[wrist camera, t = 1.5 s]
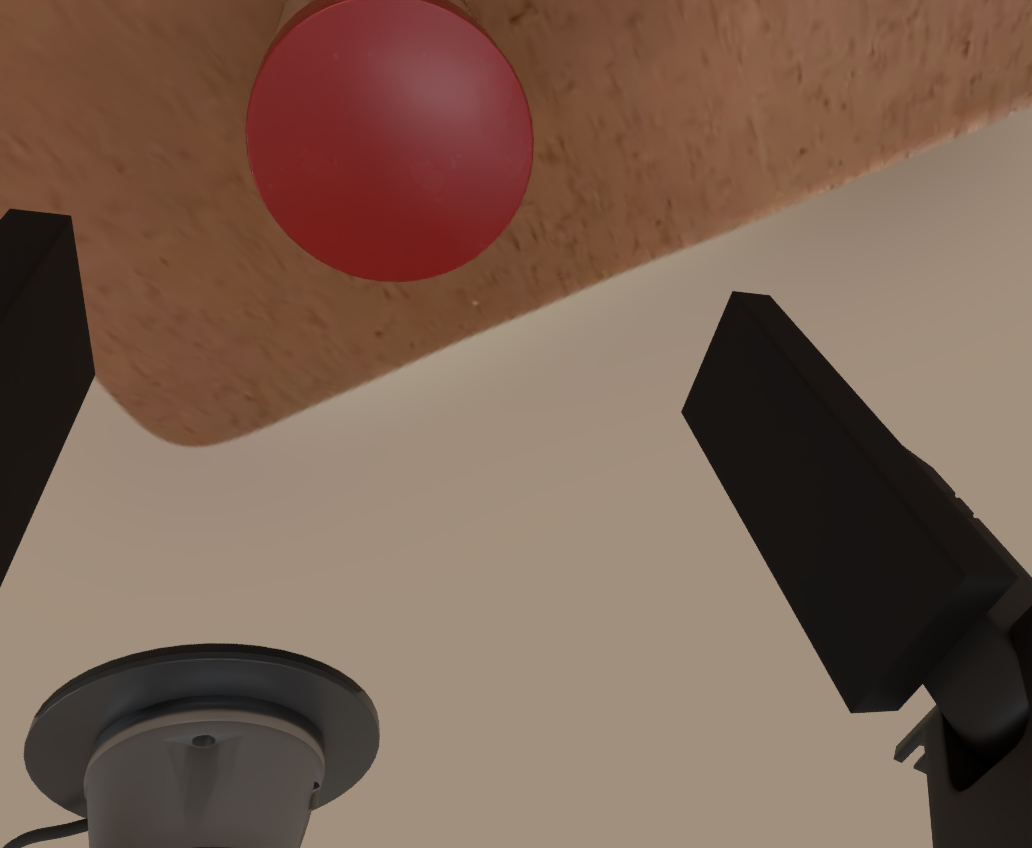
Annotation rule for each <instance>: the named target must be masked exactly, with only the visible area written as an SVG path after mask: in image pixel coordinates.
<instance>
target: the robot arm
mask: <svg viewBox="0 0 1032 848" xmlns="http://www.w3.org/2000/svg"><path fill="white" fill-rule="evenodd" d="M94 376H95V369H94V362H93V356H92V349H91V343H90V336H89V330H88V323H87V317H86V310H85V304H84V297H83V290H82V284H81V277H80V271H79V264H78V258H77V251H76V245H75V238H74V232H73V225H72V219H71V216H69V215H60V214H52V213H43V212H34V211H25V210H17V209H9V210H8V211H7V213H6V214H5V215H4V216H3V217H2V218H1V220H0V586H1V584H2V582H3V580H4V578H5V575H6V573H7V571H8V569H9V566H10V564H11V562H12V560H13V557H14V555H15V553H16V550H17V548H18V546H19V544H20V542H21V540H22V537H23V535H24V533H25V531H26V528H27V526H28V524H29V521H30V519H31V517H32V515H33V513H34V510H35V508H36V506H37V504H38V501H39V499H40V497H41V495H42V493H43V490H44V488H45V486H46V484H47V481H48V479H49V477H50V475H51V472H52V470H53V468H54V466H55V463H56V461H57V459H58V456H59V454H60V452H61V450H62V448H63V445H64V443H65V441H66V439H67V436H68V434H69V432H70V430H71V427H72V425H73V423H74V421H75V419H76V416H77V414H78V412H79V410H80V407H81V405H82V403H83V401H84V399H85V396H86V394H87V392H88V390H89V387H90V385H91V383H92V381H93V378H94ZM681 412H682V414H683V416H684V418H685V420H686V422H687V423H688V425H689V427H690V429H691V430H692V432H693V434H694V436H695V437H696V439H697V441H698V443H699V445H700V446H701V448H702V450H703V452H704V453H705V455H706V457H707V459H708V460H709V462H710V464H711V466H712V468H713V469H714V471H715V473H716V475H717V477H718V478H719V480H720V482H721V484H722V485H723V487H724V489H725V491H726V493H727V494H728V496H729V498H730V500H731V501H732V503H733V505H734V506H735V508H736V510H737V512H738V514H739V516H740V517H741V519H742V521H743V523H744V524H745V526H746V528H747V530H748V532H749V533H750V535H751V537H752V539H753V540H754V542H755V544H756V546H757V547H758V549H759V551H760V553H761V555H762V556H763V558H764V560H765V561H766V563H767V565H768V567H769V569H770V571H771V572H772V574H773V576H774V578H775V579H776V581H777V583H778V585H779V587H780V588H781V590H782V592H783V594H784V595H785V597H786V599H787V601H788V603H789V604H790V606H791V608H792V610H793V611H794V613H795V615H796V617H797V618H798V620H799V622H800V624H801V626H802V627H803V629H804V631H805V633H806V635H807V636H808V638H809V640H810V642H811V643H812V645H813V647H814V649H815V650H816V652H817V654H818V656H819V658H820V659H821V661H822V663H823V665H824V666H825V668H826V670H827V672H828V674H829V675H830V677H831V679H832V681H833V682H834V684H835V686H836V688H837V690H838V691H839V693H840V695H841V697H842V698H843V700H844V702H845V704H846V706H847V707H848V709H849V711H850V713H865V712H883V711H898V710H899V709H900V708H901V707H902V706H903V704H904V703H906V701H907V700H908V699H909V698H910V697H911V696H912V695H913V694H914V693H915V692H916V690H917V689H918V688H919V687H920V686H921V685H922V684H923V685H924V686H925V688H926V689H927V691H928V692H929V693H930V695H931V696H932V698H933V699H934V701H935V703H936V706H935V707H934V708H933V709H932V710H931V711H930V712H929V713H928V714H927V715H926V716H925V717H924V718H923V719H922V720H921V721H920V722H919V723H918V724H917V725H916V726H915V728H913V730H912V731H911V732H910V733H909V734H908V735H907V736H906V737H905V738H904V739H903V740H902V741H901V742H900V743H899V744H898V745H897V746H896V750H895V755H894V759H895V760H897V761H899V762H901V763H902V762H903V761H904V760H905V759H906V758H907V757H908V756H909V755H910V754H911V753H912V752H913V751H914V750H915V749H916V748H917V747H918V746H919V745H921V746H924V748H925V753H924V754H923V756H922V757H920V758H919V760H918V761H917V762H916V763H915V765H914V769H917V770H919V771H921V772H923V773H925V774H927V783H928V794H929V806H930V817H931V829H932V840H933V848H1032V577H1031V576H1030V575H1029V574H1028V573H1027V572H1026V571H1025V569H1024V568H1023V567H1022V566H1021V565H1020V564H1019V563H1018V562H1017V561H1016V559H1015V558H1014V557H1013V556H1012V555H1011V554H1010V553H1009V552H1008V551H1007V549H1006V548H1005V547H1004V546H1003V545H1002V544H1001V543H1000V542H999V541H998V539H997V538H996V537H995V536H994V535H993V534H992V533H991V532H990V531H989V529H988V528H987V527H986V526H985V525H984V524H983V523H982V522H981V521H980V520H979V519H978V518H974V517H973V514H974V513H973V512H972V511H971V510H970V509H969V507H968V506H967V505H966V504H965V503H964V502H963V501H962V500H961V499H960V498H956V497H955V492H954V491H953V490H952V488H951V487H950V486H949V485H948V484H947V483H946V482H945V481H944V480H943V479H942V477H941V476H940V475H939V474H938V473H937V472H936V471H935V470H934V469H933V468H932V467H931V466H930V465H928V464H927V463H926V462H924V461H922V460H921V459H920V458H919V457H917V456H916V455H915V454H913V453H911V451H909V450H908V449H906V448H905V447H904V446H902V445H901V443H900V442H899V441H898V440H897V439H896V438H895V437H894V435H893V434H892V433H891V432H890V431H889V430H888V429H887V428H886V427H885V425H884V424H883V423H882V422H881V421H880V420H879V419H878V418H877V416H876V415H875V414H874V413H873V412H872V411H871V409H870V408H869V407H868V406H867V405H866V404H865V403H864V402H863V400H862V399H860V397H859V396H858V395H857V394H856V393H855V392H854V390H853V389H852V388H851V387H850V386H849V385H848V383H847V382H846V381H845V380H844V379H843V378H842V377H841V376H840V374H839V373H838V372H837V371H836V370H835V369H834V368H833V367H832V365H831V364H830V363H829V362H828V361H827V360H826V359H825V357H824V356H823V355H822V354H821V353H820V352H819V351H818V350H817V348H816V347H815V346H814V345H813V344H812V343H811V342H810V341H809V339H808V338H807V337H806V336H805V335H804V334H803V333H802V331H801V330H800V329H799V328H798V327H797V326H796V325H795V324H794V322H793V321H792V320H791V319H790V318H789V317H788V316H787V315H786V313H785V312H784V311H783V310H782V309H781V308H780V307H779V305H778V304H777V303H776V302H775V301H774V300H773V299H772V298H771V296H770V295H762V294H753V293H743V292H735V291H733V292H732V294H731V296H730V299H729V301H728V303H727V305H726V308H725V310H724V313H723V315H722V317H721V319H720V322H719V324H718V327H717V329H716V331H715V334H714V336H713V338H712V341H711V343H710V345H709V348H708V350H707V352H706V355H705V357H704V360H703V362H702V364H701V367H700V369H699V372H698V374H697V376H696V378H695V381H694V383H693V386H692V388H691V390H690V393H689V395H688V397H687V400H686V402H685V404H684V407H683V409H682V411H681ZM324 774H325V743H324V739H323V737H322V735H321V733H320V731H319V730H318V729H317V727H316V726H315V725H314V724H313V723H312V722H311V721H309V720H308V719H307V718H305V717H304V716H302V715H301V714H299V713H297V712H295V711H293V710H291V709H289V708H286V707H284V706H281V705H278V704H275V703H271V702H268V701H263V700H259V699H253V698H246V697H236V696H201V697H191V698H183V699H177V700H172V701H167V702H163V703H159V704H156V705H152V706H149V707H146V708H143V709H141V710H138V711H136V712H134V713H131V714H129V715H127V716H125V717H124V718H122V719H120V720H118V721H117V722H115V723H114V724H112V725H111V726H110V727H109V728H107V729H106V730H105V731H104V732H103V733H102V734H101V735H100V736H99V738H98V739H97V740H96V742H95V744H94V746H93V748H92V751H91V755H90V759H89V762H88V766H87V770H86V773H85V777H84V795H85V799H86V803H87V816H88V818H86V819H82V820H79V821H75V822H72V823H68V824H63V825H58V826H52V827H46V828H41V829H36V830H33V831H30V832H27V833H24V834H22V835H20V836H18V837H17V838H15V839H13V840H11V841H10V842H9V843H7V844H6V845H5V846H4V847H3V848H21V847H24V846H26V845H28V844H32V843H35V842H40V841H45V840H51V839H57V838H62V837H66V836H71V835H75V834H78V833H82V832H86V831H88V835H89V848H300V846H301V843H302V840H303V837H304V834H305V831H306V828H307V825H308V822H309V818H310V815H311V811H312V808H314V807H316V806H317V805H318V802H319V791H320V788H321V785H322V782H323V779H324Z"/></svg>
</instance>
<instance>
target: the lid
mask: <svg viewBox="0 0 1032 848" xmlns="http://www.w3.org/2000/svg"><path fill="white" fill-rule="evenodd" d="M246 144H247V154H248V159H249V164H250V168H251V172H252V175H253V178H254V181H255V184H256V187H257V189H258V191H259V193H260V195H261V197H262V199H263V201H264V203H265V205H266V207H267V209H268V210H269V212H270V213H271V215H272V216H273V218H274V219H275V221H276V222H277V223H278V224H279V226H280V227H281V228H282V229H283V230H284V231H285V233H286V234H287V235H288V236H289V237H290V238H291V239H292V240H293V241H294V242H296V243H297V244H298V245H299V246H300V247H301V248H302V249H304V250H305V251H306V252H308V253H309V254H311V255H312V256H313V257H315V258H316V259H318V260H320V261H321V262H323V263H325V264H327V265H329V266H330V267H332V268H335V269H337V270H339V271H342V272H344V273H347V274H350V275H353V276H357V277H360V278H364V279H369V280H376V281H383V282H407V281H417V280H422V279H427V278H432V277H435V276H438V275H441V274H444V273H447V272H449V271H452V270H454V269H456V268H458V267H460V266H462V265H464V264H465V263H467V262H469V261H470V260H472V259H474V258H475V257H477V256H478V255H479V254H480V253H482V252H483V251H484V250H485V249H487V248H488V247H489V246H490V245H491V244H492V243H493V242H494V241H495V240H496V239H497V238H498V237H499V236H500V235H501V233H502V232H503V231H504V229H505V228H506V227H507V225H508V224H509V223H510V221H511V220H512V218H513V216H514V215H515V213H516V211H517V210H518V208H519V206H520V203H521V201H522V199H523V196H524V194H525V192H526V188H527V185H528V181H529V178H530V174H531V168H532V161H533V144H534V137H533V127H532V119H531V115H530V111H529V106H528V102H527V99H526V97H525V94H524V91H523V88H522V86H521V83H520V81H519V79H518V78H517V76H516V74H515V72H514V70H513V68H512V66H511V65H510V63H509V62H508V60H507V59H506V58H505V56H504V55H503V53H502V52H501V50H500V49H499V47H498V46H497V45H496V43H495V42H494V40H493V39H492V38H491V36H490V35H489V34H488V33H487V32H486V30H485V29H484V28H483V27H482V26H481V25H480V24H479V23H478V22H477V21H476V20H475V19H474V18H473V17H471V16H470V15H469V14H468V13H467V12H465V11H464V10H463V9H462V8H460V7H459V6H457V5H455V4H454V3H452V2H451V1H449V0H313V1H312V2H310V3H309V4H307V5H306V6H305V7H303V8H302V9H300V10H299V11H298V12H297V13H296V14H295V15H294V16H293V17H292V18H291V19H290V20H289V21H288V22H287V23H286V24H285V25H284V26H283V27H282V28H281V30H280V31H279V32H278V34H277V35H276V36H275V38H274V39H273V40H272V42H271V44H270V46H269V48H268V50H267V52H266V53H265V55H264V57H263V60H262V63H261V65H260V68H259V71H258V74H257V77H256V80H255V83H254V86H253V89H252V92H251V95H250V100H249V105H248V110H247V119H246Z"/></svg>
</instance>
